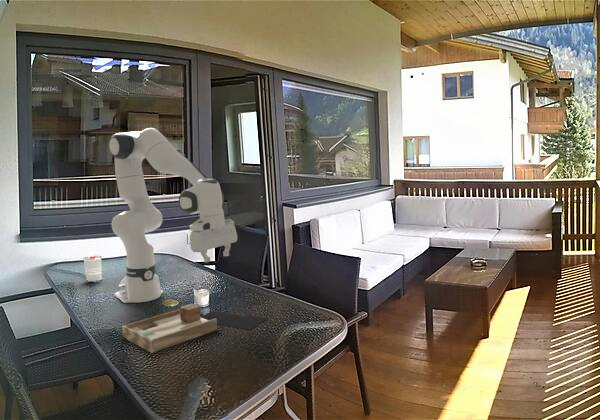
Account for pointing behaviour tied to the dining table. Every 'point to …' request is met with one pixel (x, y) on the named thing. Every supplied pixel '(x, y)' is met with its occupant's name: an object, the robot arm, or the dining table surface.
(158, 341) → the box
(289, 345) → the dining table surface
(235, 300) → the dining table surface
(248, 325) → the black flat board
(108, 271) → the dining table surface
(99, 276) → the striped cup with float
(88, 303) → the dining table surface
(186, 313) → the block
